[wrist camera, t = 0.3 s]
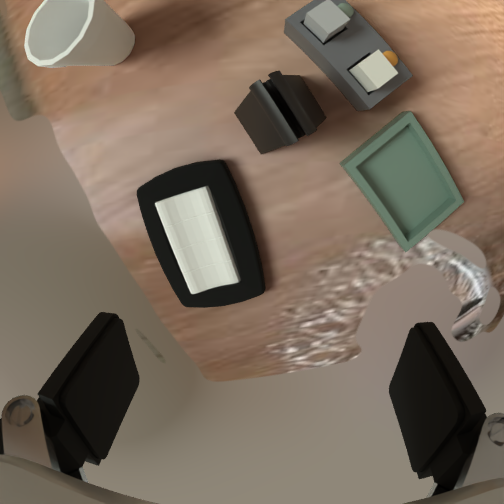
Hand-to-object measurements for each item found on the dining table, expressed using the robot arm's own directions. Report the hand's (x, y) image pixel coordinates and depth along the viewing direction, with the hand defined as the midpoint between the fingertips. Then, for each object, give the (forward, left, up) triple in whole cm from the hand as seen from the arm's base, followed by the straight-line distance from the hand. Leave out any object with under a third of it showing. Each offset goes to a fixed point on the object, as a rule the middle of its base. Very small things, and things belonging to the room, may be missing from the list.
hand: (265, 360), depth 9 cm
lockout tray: (-14, +10, -30) cm, 34 cm away
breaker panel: (-18, -7, -30) cm, 35 cm away
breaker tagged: (-17, -3, -25) cm, 30 cm away
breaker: (-17, -10, -25) cm, 32 cm away
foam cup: (+1, -29, -30) cm, 42 cm away
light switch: (+12, -1, -30) cm, 33 cm away
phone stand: (-7, -6, -30) cm, 31 cm away
